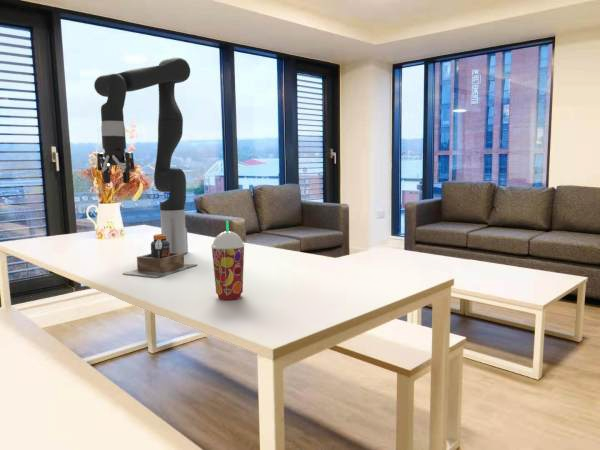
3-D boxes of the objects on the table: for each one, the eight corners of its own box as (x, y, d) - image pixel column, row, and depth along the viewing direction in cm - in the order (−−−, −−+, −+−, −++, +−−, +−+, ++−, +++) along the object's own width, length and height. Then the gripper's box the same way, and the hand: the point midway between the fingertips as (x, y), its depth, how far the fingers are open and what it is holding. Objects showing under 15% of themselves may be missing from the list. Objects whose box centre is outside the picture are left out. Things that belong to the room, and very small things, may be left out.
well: (165, 262, 172) (164, 249, 172) (197, 265, 166) (196, 251, 166) (122, 274, 154) (121, 259, 154) (156, 278, 148) (156, 262, 148)
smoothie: (214, 293, 129) (212, 219, 127) (246, 292, 130) (244, 218, 128) (211, 302, 121) (208, 222, 119) (245, 301, 122) (243, 222, 119)
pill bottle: (165, 270, 157) (163, 236, 156) (148, 270, 158) (146, 235, 157) (173, 266, 163) (172, 233, 161) (157, 266, 164) (155, 233, 163)
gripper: (137, 135, 165) (140, 182, 167) (106, 136, 170) (109, 182, 173) (121, 134, 158) (124, 183, 160) (89, 135, 164) (92, 183, 166)
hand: (116, 183), depth 166 cm, fingers open, 8 cm apart
